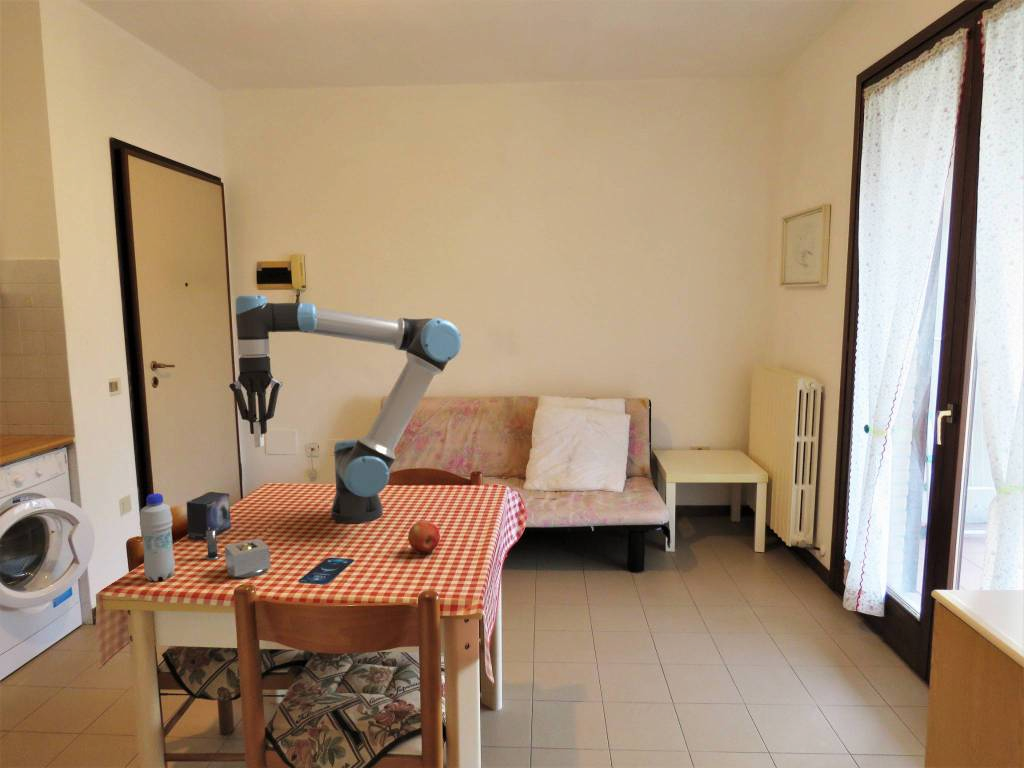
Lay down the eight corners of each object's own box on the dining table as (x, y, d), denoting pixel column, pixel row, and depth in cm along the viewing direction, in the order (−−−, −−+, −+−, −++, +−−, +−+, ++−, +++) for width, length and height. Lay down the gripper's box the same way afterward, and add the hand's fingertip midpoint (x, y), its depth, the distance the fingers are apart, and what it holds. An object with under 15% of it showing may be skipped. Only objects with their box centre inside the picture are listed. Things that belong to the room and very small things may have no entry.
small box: (208, 541, 176) (205, 503, 174) (187, 539, 177) (184, 502, 176) (232, 528, 186) (230, 492, 185) (212, 526, 187) (209, 491, 186)
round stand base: (273, 562, 160) (272, 539, 159) (261, 578, 151) (259, 553, 150) (236, 563, 160) (234, 540, 159) (221, 579, 151) (219, 554, 150)
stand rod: (222, 554, 166) (220, 528, 165) (216, 560, 162) (215, 532, 161) (208, 555, 165) (206, 528, 165) (203, 560, 162) (201, 533, 161)
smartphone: (356, 559, 162) (327, 583, 147) (356, 561, 162) (327, 586, 147) (327, 557, 163) (296, 581, 149) (327, 559, 163) (296, 583, 149)
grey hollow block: (260, 557, 161) (259, 538, 160) (270, 567, 154) (269, 547, 154) (226, 565, 156) (224, 545, 155) (235, 576, 150) (233, 555, 149)
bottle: (152, 572, 155) (145, 490, 153) (181, 570, 156) (175, 489, 153) (138, 584, 149) (131, 498, 146) (169, 582, 149) (162, 497, 147)
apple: (439, 545, 171) (438, 515, 170) (441, 557, 162) (440, 526, 162) (408, 547, 169) (407, 517, 168) (408, 559, 161) (408, 528, 160)
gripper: (284, 354, 171) (289, 442, 174) (234, 355, 171) (239, 443, 174) (275, 356, 164) (280, 448, 167) (222, 357, 163) (228, 449, 166)
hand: (259, 446), depth 170 cm, fingers closed
